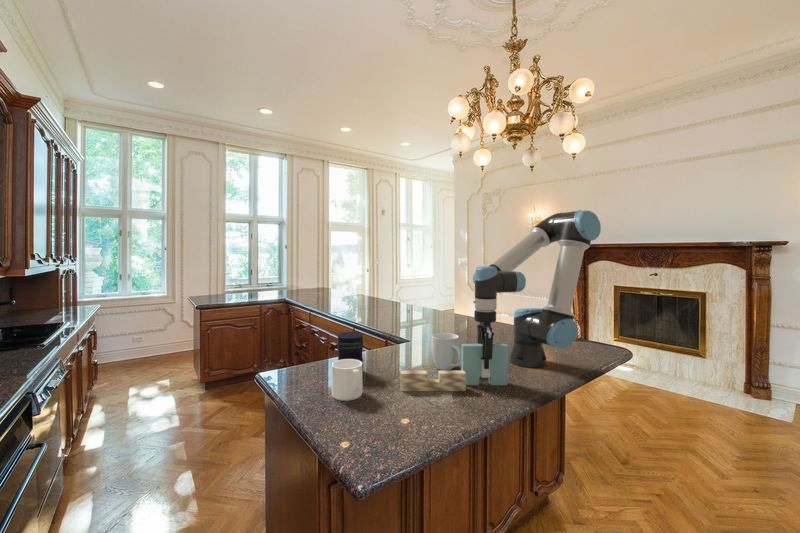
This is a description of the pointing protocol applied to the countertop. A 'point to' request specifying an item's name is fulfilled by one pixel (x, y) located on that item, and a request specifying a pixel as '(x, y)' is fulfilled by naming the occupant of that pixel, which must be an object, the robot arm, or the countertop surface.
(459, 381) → the notched wooden beam
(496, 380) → the pale teal block
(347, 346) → the storage jar
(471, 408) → the countertop surface
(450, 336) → the mug
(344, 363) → the mug
